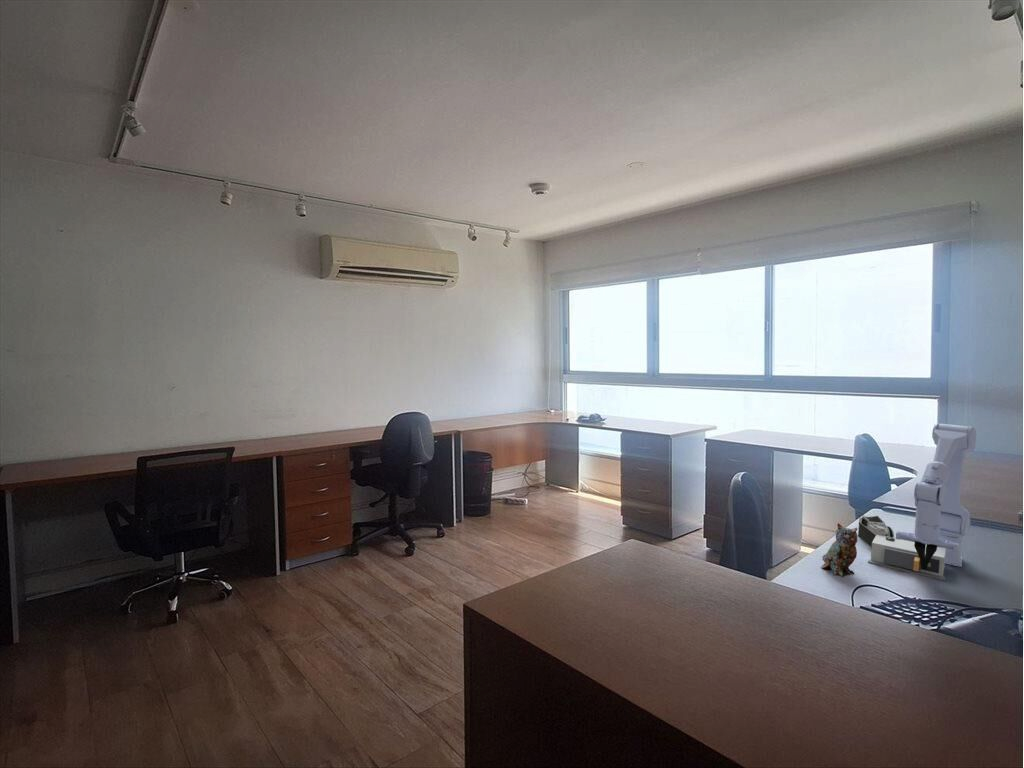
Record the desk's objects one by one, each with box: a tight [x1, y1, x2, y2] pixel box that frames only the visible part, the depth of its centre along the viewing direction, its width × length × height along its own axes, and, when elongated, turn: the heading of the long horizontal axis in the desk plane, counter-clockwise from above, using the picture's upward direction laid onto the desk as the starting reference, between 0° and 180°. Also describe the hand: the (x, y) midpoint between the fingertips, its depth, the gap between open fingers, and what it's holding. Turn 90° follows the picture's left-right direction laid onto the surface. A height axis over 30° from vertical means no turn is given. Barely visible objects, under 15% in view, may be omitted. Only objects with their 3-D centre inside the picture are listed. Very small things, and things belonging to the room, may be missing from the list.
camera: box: [857, 514, 895, 549], centre depth 186 cm, size 16×9×10 cm, turn 168°
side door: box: [884, 548, 921, 571], centre depth 165 cm, size 5×9×5 cm, turn 49°
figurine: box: [820, 522, 859, 578], centre depth 164 cm, size 9×9×15 cm
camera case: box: [867, 535, 946, 581], centre depth 169 cm, size 12×19×6 cm, turn 49°
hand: (924, 568), depth 160 cm, fingers closed
